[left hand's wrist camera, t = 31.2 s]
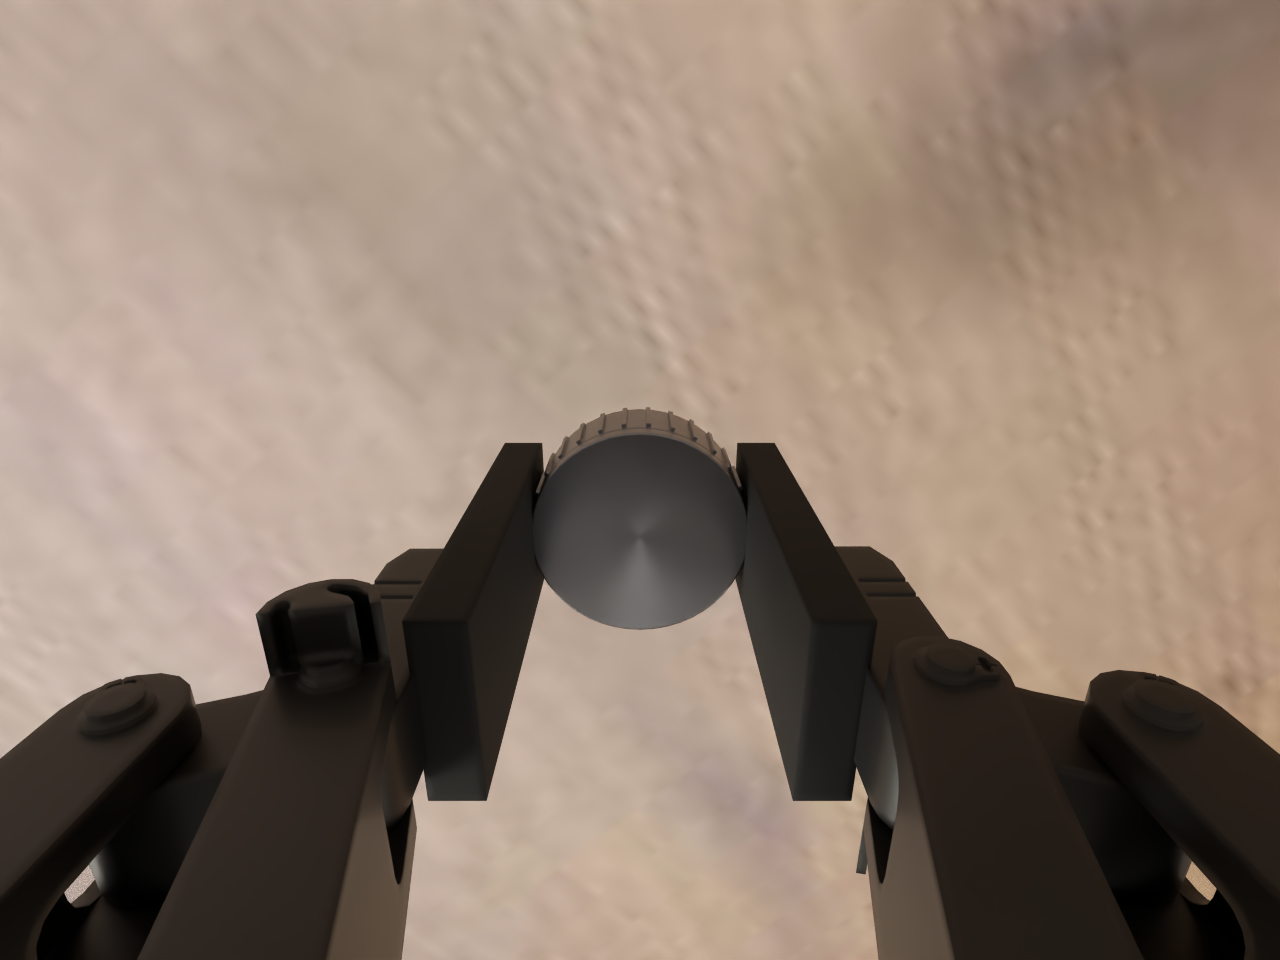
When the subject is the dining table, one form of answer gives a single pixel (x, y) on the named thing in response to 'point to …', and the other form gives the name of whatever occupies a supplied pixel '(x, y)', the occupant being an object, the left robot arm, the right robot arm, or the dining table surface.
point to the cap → (639, 520)
